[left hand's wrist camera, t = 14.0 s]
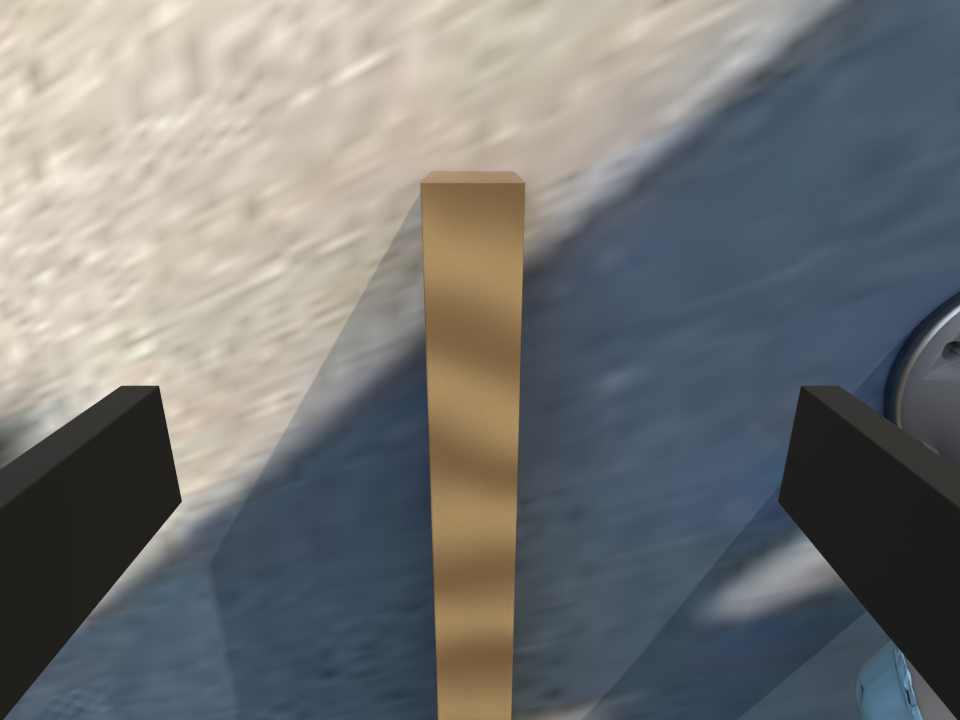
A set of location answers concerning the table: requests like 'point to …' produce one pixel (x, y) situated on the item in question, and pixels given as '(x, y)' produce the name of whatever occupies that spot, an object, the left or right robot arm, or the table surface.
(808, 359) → the table surface
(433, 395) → the beam
